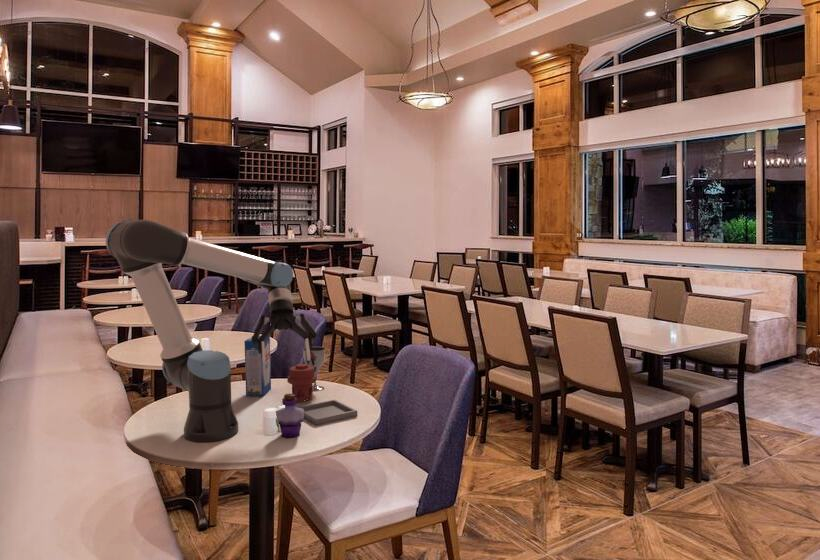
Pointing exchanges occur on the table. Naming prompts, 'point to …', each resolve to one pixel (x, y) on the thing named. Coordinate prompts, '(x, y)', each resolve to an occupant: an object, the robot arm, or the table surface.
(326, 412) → the charcoal tray
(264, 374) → the milk carton
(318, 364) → the wine glass
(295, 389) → the mechanical component
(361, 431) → the table surface
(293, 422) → the potion bottle
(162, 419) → the table surface
